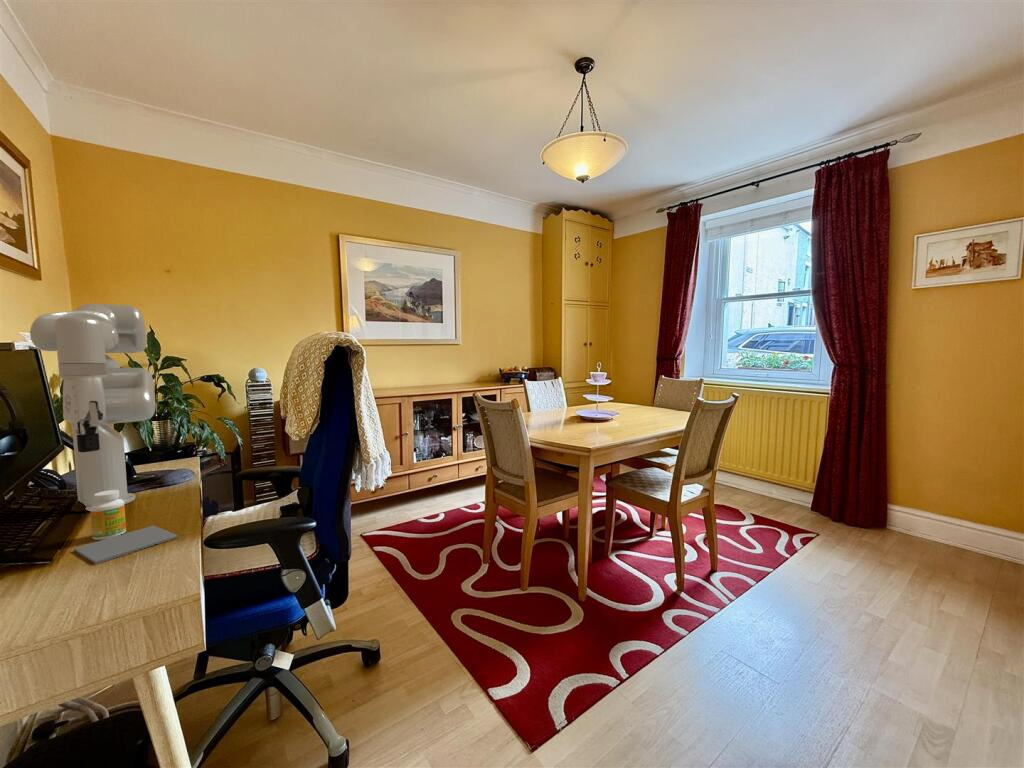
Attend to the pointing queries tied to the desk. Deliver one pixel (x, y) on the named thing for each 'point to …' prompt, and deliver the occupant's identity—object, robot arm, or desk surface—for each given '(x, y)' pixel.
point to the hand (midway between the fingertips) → (89, 450)
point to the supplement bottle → (107, 515)
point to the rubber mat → (124, 544)
